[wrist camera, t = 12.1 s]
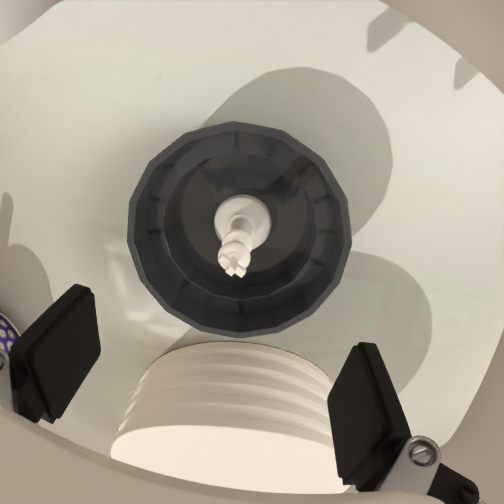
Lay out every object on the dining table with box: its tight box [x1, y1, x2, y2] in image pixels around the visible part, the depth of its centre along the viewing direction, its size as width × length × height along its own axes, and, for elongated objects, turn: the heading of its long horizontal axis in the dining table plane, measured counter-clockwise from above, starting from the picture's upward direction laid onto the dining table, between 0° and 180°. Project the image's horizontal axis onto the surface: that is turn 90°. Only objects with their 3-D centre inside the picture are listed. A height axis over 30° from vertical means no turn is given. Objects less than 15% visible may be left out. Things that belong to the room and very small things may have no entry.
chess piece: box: [214, 194, 272, 278], centre depth 21 cm, size 5×5×10 cm
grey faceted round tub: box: [127, 121, 352, 338], centre depth 24 cm, size 16×16×6 cm
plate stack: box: [111, 342, 350, 494], centre depth 31 cm, size 28×28×12 cm
